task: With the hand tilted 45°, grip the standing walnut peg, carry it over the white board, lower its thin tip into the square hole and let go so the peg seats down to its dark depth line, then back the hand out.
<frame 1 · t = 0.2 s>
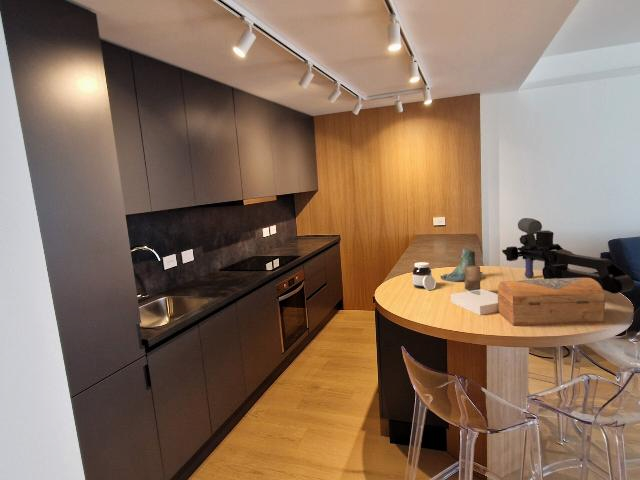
hand: (510, 249, 180), 17 cm above the table, tool horizontal, fingers open, 9 cm apart
rubber mallet: (529, 278, 191), on the table
tree stump: (461, 278, 200), on the table
wooden box: (547, 317, 138), on the table
white board: (481, 305, 155), on the table
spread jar: (425, 287, 187), on the table
walnut peg: (472, 294, 171), on the table
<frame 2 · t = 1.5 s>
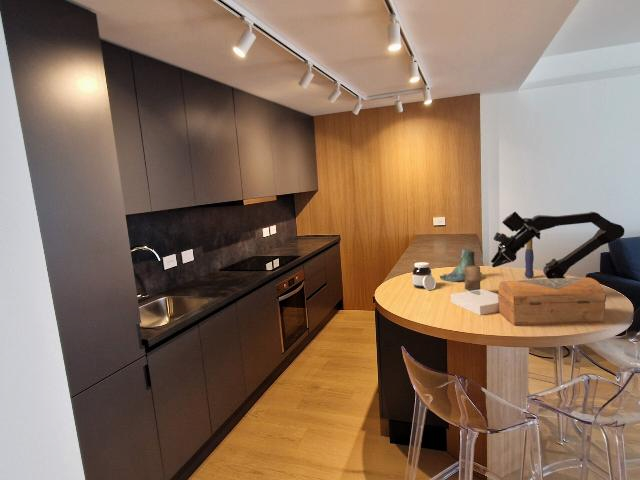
hand: (492, 264, 166), 14 cm above the table, tool tilted 45°, fingers open, 9 cm apart
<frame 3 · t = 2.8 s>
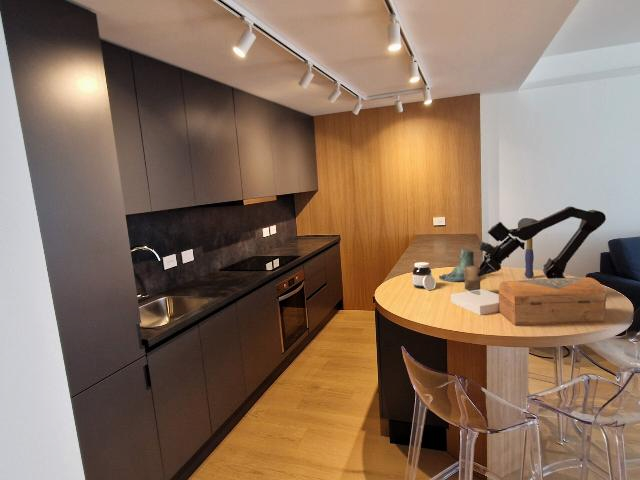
hand: (477, 273, 169), 10 cm above the table, tool tilted 45°, fingers open, 9 cm apart
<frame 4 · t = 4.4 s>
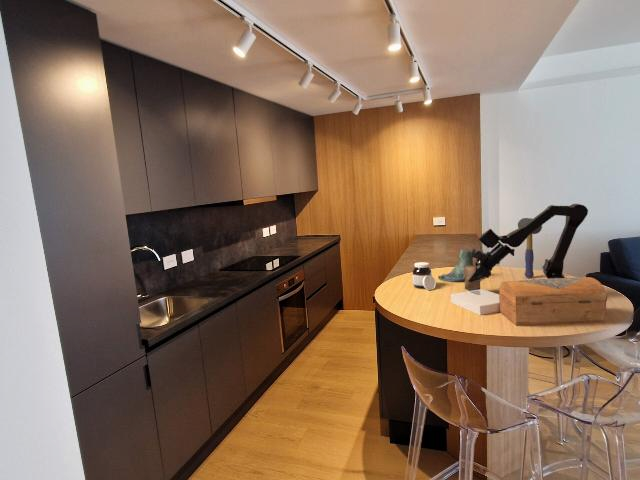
hand: (469, 279, 170), 7 cm above the table, tool tilted 45°, fingers closed on walnut peg, 6 cm apart
walnut peg: (472, 294, 171), on the table, touching gripper
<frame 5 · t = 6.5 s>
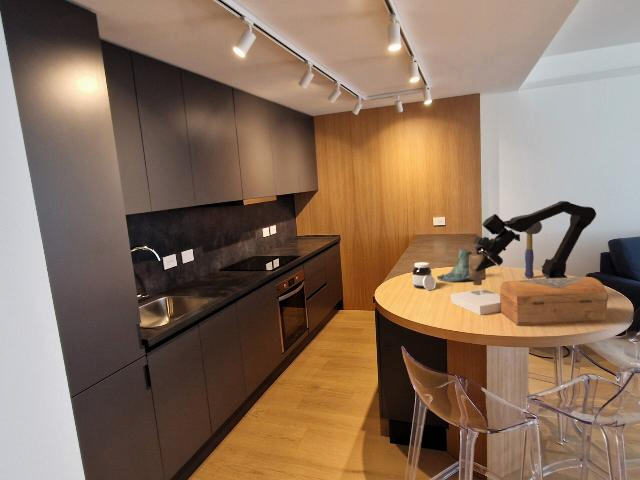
hand: (473, 269, 161), 13 cm above the table, tool tilted 45°, fingers closed on walnut peg, 6 cm apart
walnut peg: (477, 284, 161), point 7 cm above the table, touching gripper
when the fingers open (8 cm above the table, at t = 8.7 s): walnut peg stays where it is, resting on white board.
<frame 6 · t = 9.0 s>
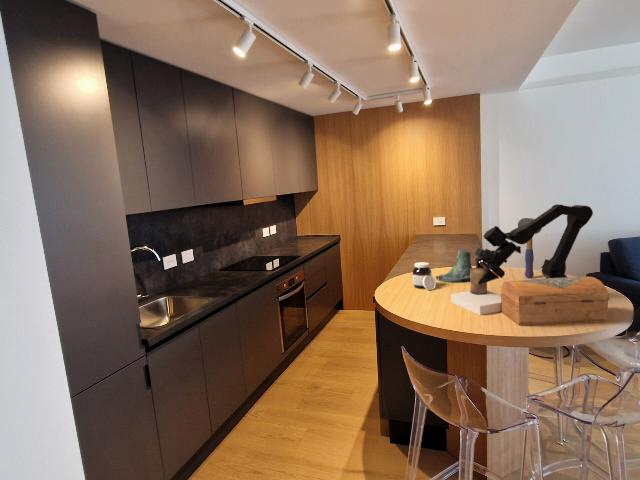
hand: (475, 281, 160), 9 cm above the table, tool tilted 45°, fingers open, 9 cm apart
walnut peg: (478, 298, 161), point 1 cm above the table, touching white board
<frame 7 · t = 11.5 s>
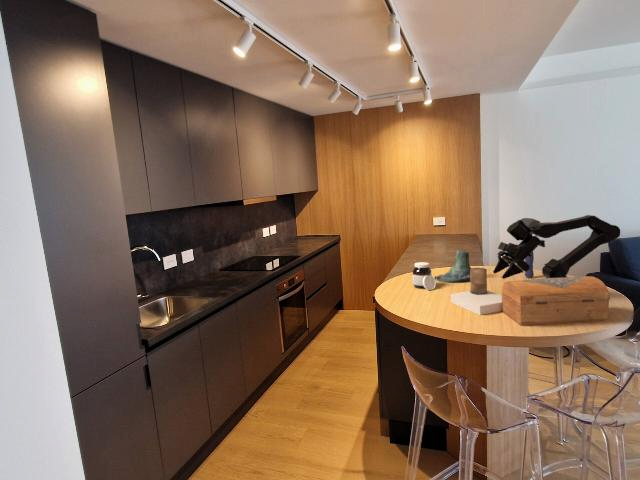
hand: (498, 275, 159), 11 cm above the table, tool tilted 45°, fingers open, 9 cm apart
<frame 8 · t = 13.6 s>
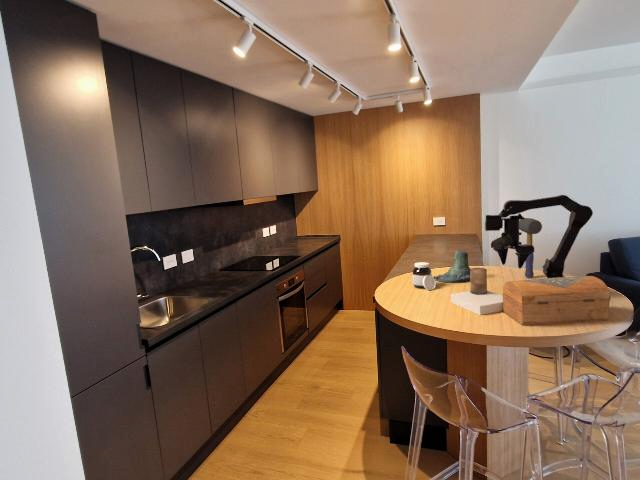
hand: (511, 266, 163), 13 cm above the table, tool pointing down, fingers open, 9 cm apart
at the end: walnut peg 0.1 cm from the target spot on the white board, point 1.0 cm above the white board's base; walnut peg tilted 0°; the gripper is holding nothing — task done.
